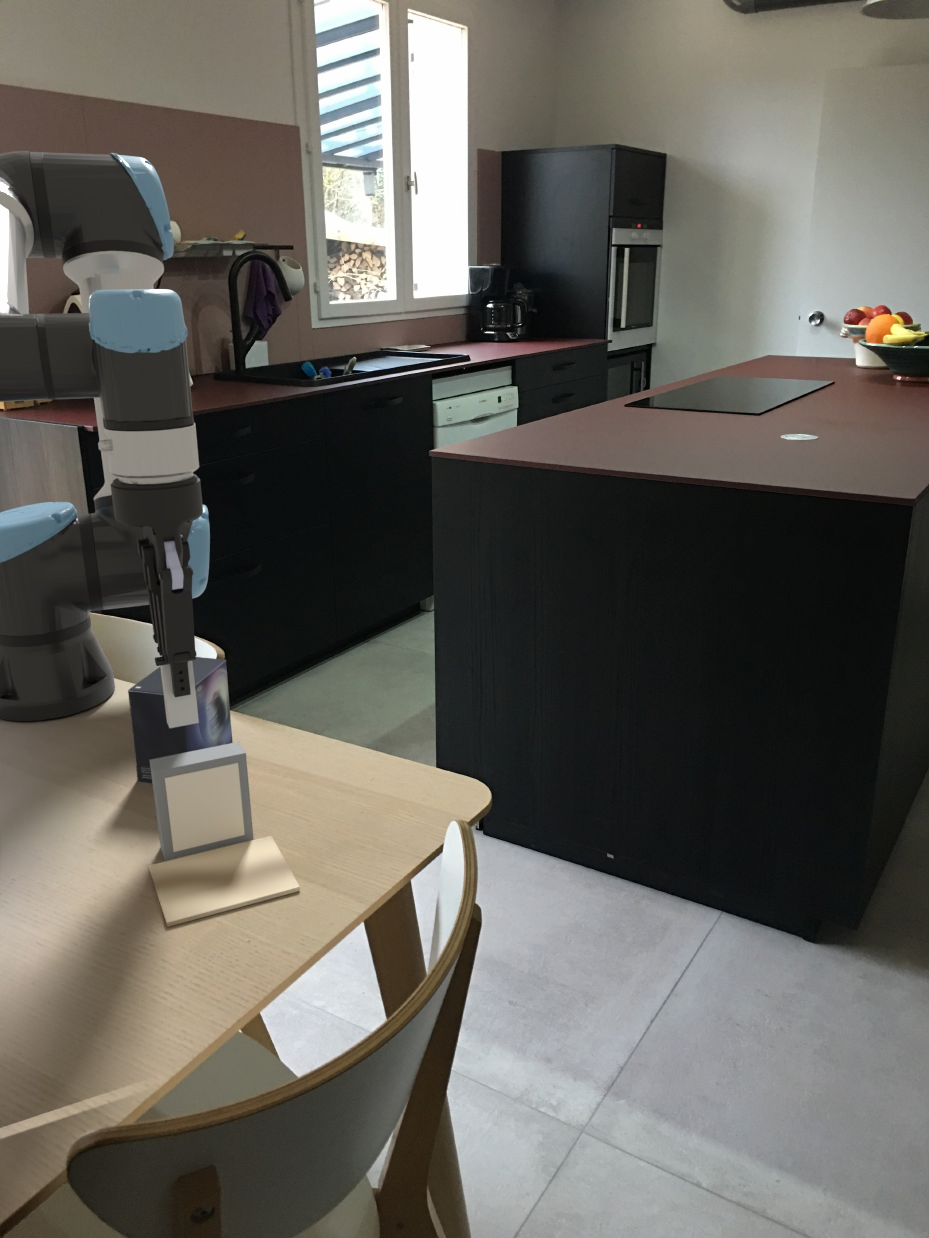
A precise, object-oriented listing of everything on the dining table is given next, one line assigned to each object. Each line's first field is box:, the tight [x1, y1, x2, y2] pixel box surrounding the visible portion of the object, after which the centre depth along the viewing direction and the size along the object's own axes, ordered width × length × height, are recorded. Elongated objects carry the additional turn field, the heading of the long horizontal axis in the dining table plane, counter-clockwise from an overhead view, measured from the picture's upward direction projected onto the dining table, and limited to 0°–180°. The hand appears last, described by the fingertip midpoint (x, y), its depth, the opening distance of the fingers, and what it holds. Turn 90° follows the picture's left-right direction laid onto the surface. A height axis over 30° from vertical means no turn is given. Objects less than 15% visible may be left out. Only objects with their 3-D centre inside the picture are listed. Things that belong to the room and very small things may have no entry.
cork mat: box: [148, 835, 301, 928], centre depth 84 cm, size 9×11×1 cm
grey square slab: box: [150, 741, 255, 862], centre depth 88 cm, size 3×8×9 cm, turn 116°
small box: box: [127, 656, 234, 784], centre depth 103 cm, size 11×6×10 cm, turn 168°
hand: (182, 722), depth 92 cm, fingers closed
